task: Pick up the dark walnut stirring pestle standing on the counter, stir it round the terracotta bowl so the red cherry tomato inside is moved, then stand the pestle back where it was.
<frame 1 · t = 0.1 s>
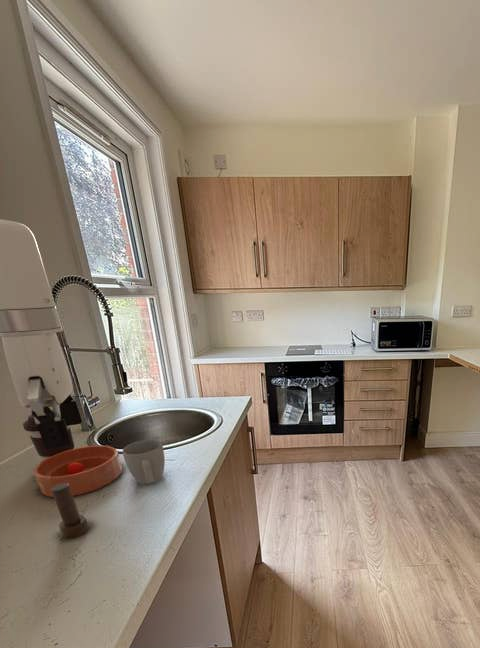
hand: (65, 434, 55), 24 cm above the countertop, tool pointing down, fingers open, 9 cm apart
coffee cup: (62, 464, 99), on the countertop
pestle: (77, 533, 70), on the countertop
mug: (151, 484, 87), on the countertop
tomato: (75, 469, 90), point 3 cm above the countertop, touching bowl
bowl: (84, 480, 89), on the countertop
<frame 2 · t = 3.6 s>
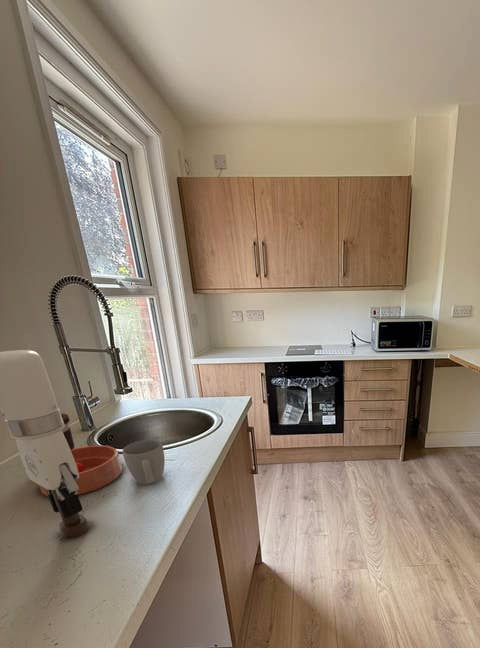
hand: (68, 510, 68), 6 cm above the countertop, tool pointing down, fingers closed on pestle, 2 cm apart
pestle: (77, 533, 70), on the countertop, touching gripper
everything else where it was.
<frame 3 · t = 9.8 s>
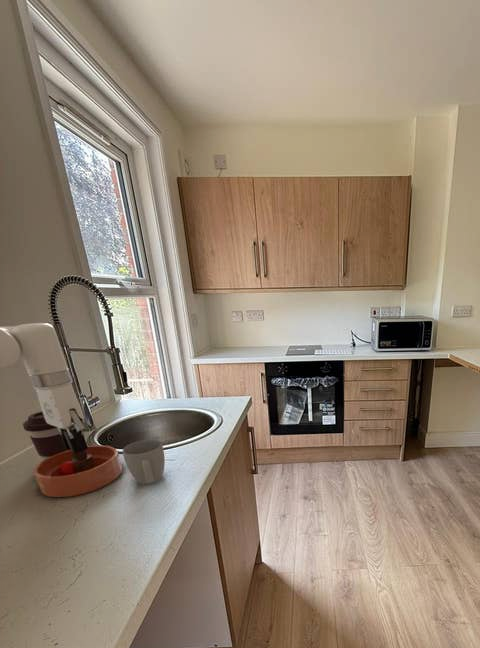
hand: (77, 448, 88), 8 cm above the countertop, tool pointing down, fingers closed on pestle, 3 cm apart
pestle: (85, 468, 90), point 2 cm above the countertop, touching gripper, tomato
tomato: (68, 468, 90), point 3 cm above the countertop, tilted 62°, touching bowl, pestle
everything else where it was.
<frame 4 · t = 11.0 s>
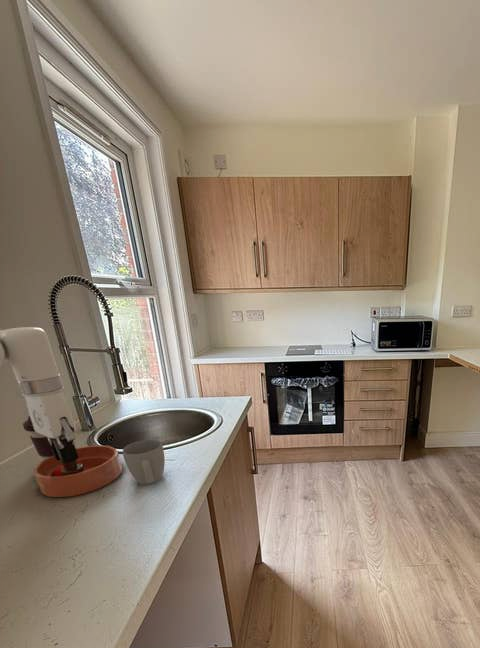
hand: (67, 459, 84), 8 cm above the countertop, tool pointing down, fingers closed on pestle, 2 cm apart
pestle: (75, 478, 86), point 2 cm above the countertop, touching gripper
tomato: (63, 473, 88), point 3 cm above the countertop, tilted 53°, touching bowl
everything else where it was.
when the fingers open (6 cm above the countertop, at t = 19.4 s): pestle stays where it is, on the countertop.
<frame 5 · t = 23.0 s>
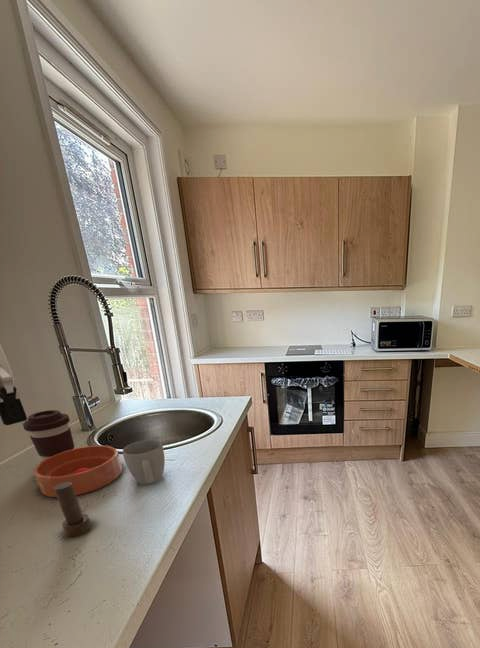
hand: (4, 418, 62), 24 cm above the countertop, tool pointing down, fingers open, 9 cm apart
pestle: (79, 532, 70), on the countertop
tomato: (83, 475, 87), point 3 cm above the countertop, tilted 145°, touching bowl
everything else where it was.
at the end: tomato moved 5.3 cm from its start; tomato inside the target area in the bowl (2.4 cm from its centre), point 2.6 cm above the bowl's base; pestle tilted 0° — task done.
